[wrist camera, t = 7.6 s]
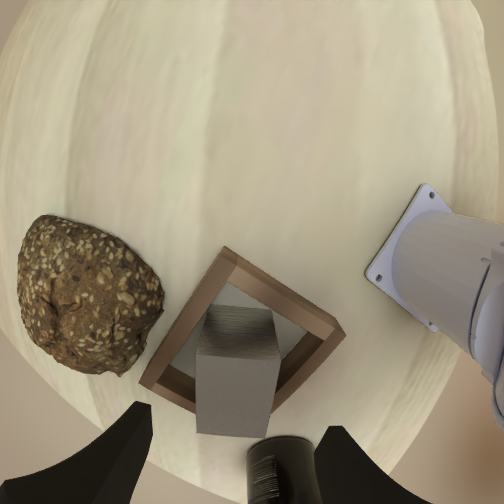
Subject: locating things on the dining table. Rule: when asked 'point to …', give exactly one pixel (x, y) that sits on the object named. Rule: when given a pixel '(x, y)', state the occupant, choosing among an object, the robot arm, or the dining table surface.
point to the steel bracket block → (236, 371)
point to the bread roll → (85, 296)
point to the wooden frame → (265, 291)
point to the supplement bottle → (282, 472)
